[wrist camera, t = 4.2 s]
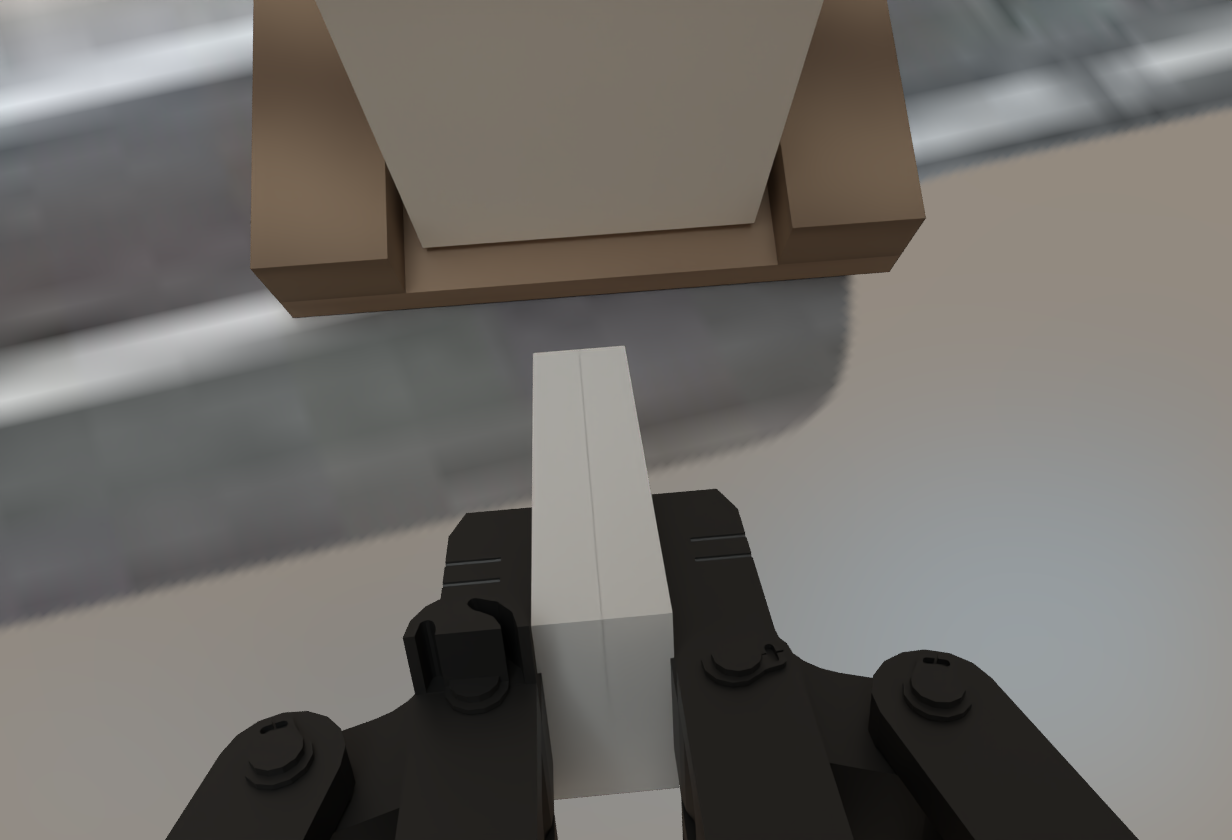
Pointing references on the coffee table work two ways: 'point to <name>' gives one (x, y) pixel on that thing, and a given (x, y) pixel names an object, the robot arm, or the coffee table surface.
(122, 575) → the coffee table surface
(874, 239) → the dark open tray
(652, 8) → the beige upright block
